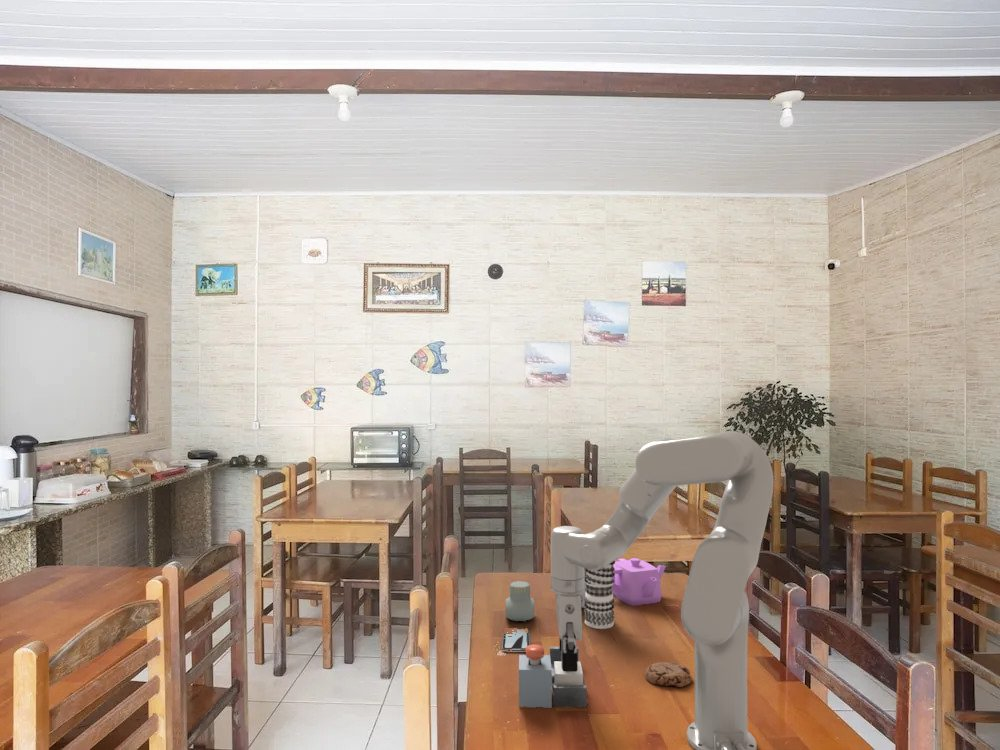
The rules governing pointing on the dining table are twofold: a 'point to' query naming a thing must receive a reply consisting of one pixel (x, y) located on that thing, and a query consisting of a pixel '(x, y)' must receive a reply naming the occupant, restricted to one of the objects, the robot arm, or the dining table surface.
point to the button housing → (535, 682)
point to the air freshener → (519, 602)
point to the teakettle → (637, 581)
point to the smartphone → (516, 640)
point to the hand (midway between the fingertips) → (568, 660)
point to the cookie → (668, 674)
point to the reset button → (534, 653)
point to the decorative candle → (599, 597)
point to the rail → (567, 687)
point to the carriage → (566, 674)
